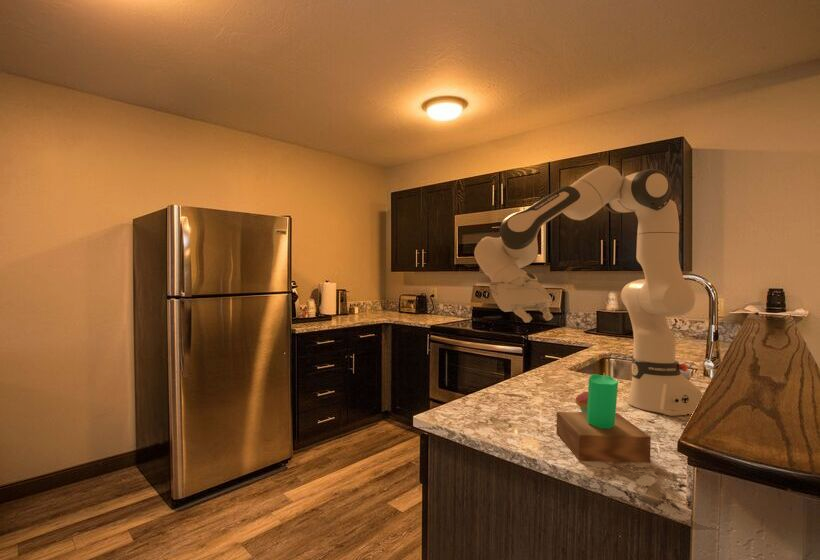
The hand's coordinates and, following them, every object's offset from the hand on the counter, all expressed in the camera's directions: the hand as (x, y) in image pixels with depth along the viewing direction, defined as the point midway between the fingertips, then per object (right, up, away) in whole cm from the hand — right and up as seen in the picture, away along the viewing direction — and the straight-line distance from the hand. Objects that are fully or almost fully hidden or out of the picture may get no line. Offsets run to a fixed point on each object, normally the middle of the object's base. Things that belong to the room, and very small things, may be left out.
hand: (539, 319), depth 110 cm
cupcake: (+16, -28, +5) cm, 33 cm away
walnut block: (+9, -29, -15) cm, 33 cm away
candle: (+9, -22, -15) cm, 28 cm away
